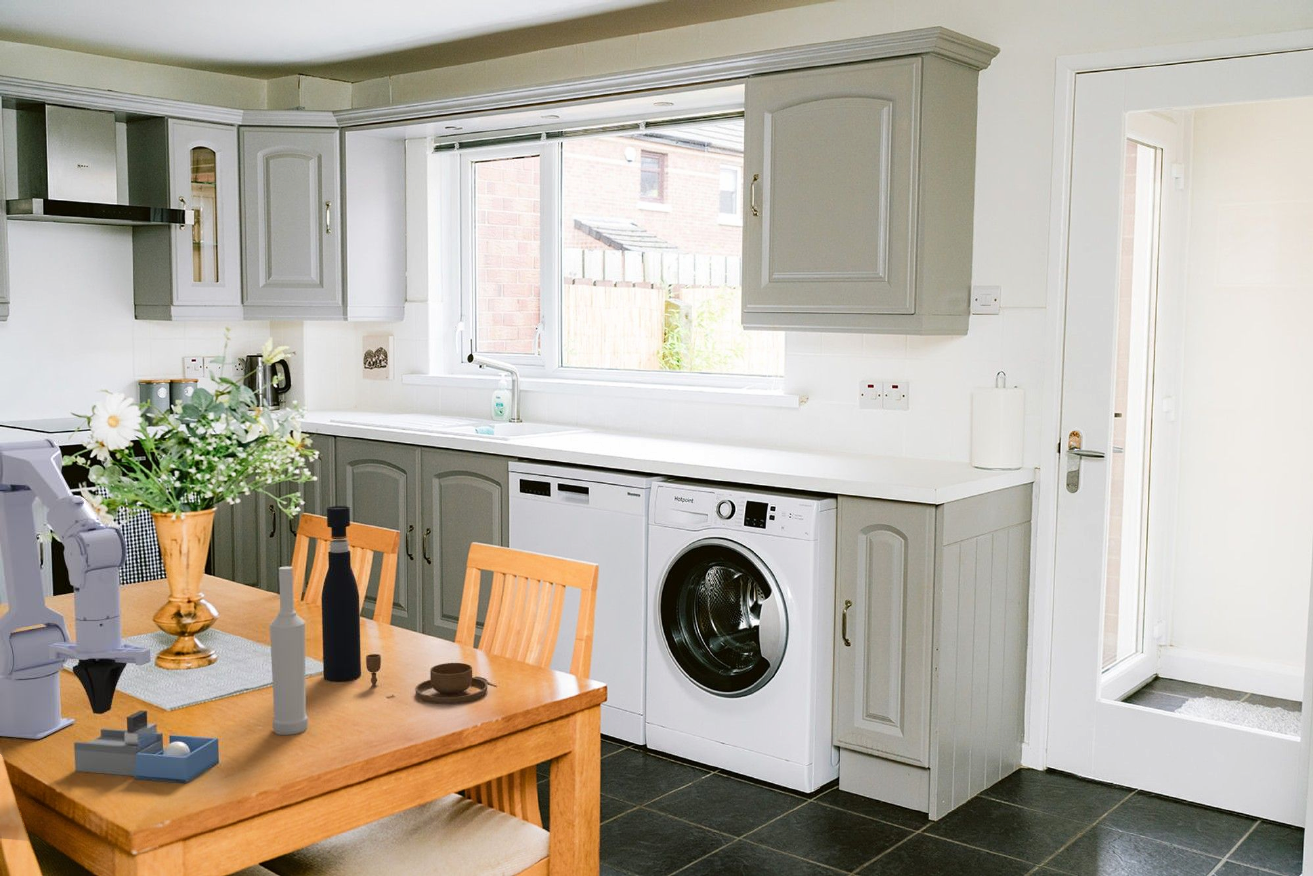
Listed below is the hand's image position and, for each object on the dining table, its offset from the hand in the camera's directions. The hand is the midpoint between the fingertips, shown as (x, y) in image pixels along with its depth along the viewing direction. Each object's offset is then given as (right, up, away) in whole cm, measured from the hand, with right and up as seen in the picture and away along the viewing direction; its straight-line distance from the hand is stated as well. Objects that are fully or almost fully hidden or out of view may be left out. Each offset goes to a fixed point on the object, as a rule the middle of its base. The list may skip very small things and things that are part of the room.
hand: (101, 711), depth 163 cm
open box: (+11, -8, -2) cm, 14 cm away
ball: (+11, -6, -2) cm, 13 cm away
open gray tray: (+3, -8, 0) cm, 8 cm away
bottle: (+22, -6, +15) cm, 27 cm away
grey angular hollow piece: (+6, -4, -1) cm, 7 cm away
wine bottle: (+22, -4, +42) cm, 48 cm away
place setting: (+40, -5, +36) cm, 54 cm away
